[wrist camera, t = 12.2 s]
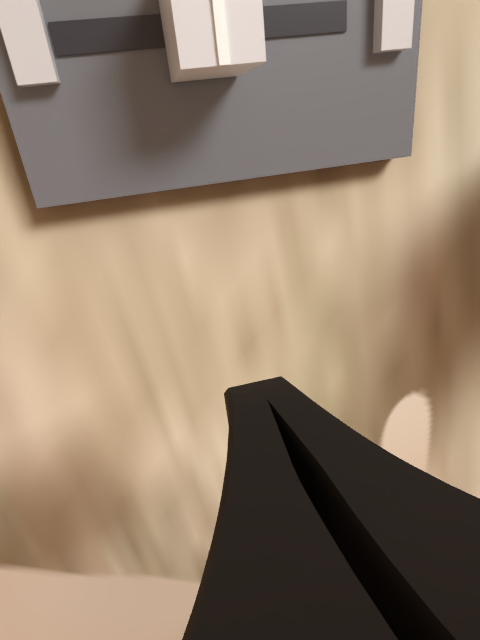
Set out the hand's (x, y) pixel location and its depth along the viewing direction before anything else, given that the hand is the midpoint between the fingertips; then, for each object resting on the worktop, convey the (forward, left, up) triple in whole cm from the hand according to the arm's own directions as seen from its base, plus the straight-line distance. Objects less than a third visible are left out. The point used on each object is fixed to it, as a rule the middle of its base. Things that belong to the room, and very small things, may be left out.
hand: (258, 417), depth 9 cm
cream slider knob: (-1, -9, -9) cm, 13 cm away
